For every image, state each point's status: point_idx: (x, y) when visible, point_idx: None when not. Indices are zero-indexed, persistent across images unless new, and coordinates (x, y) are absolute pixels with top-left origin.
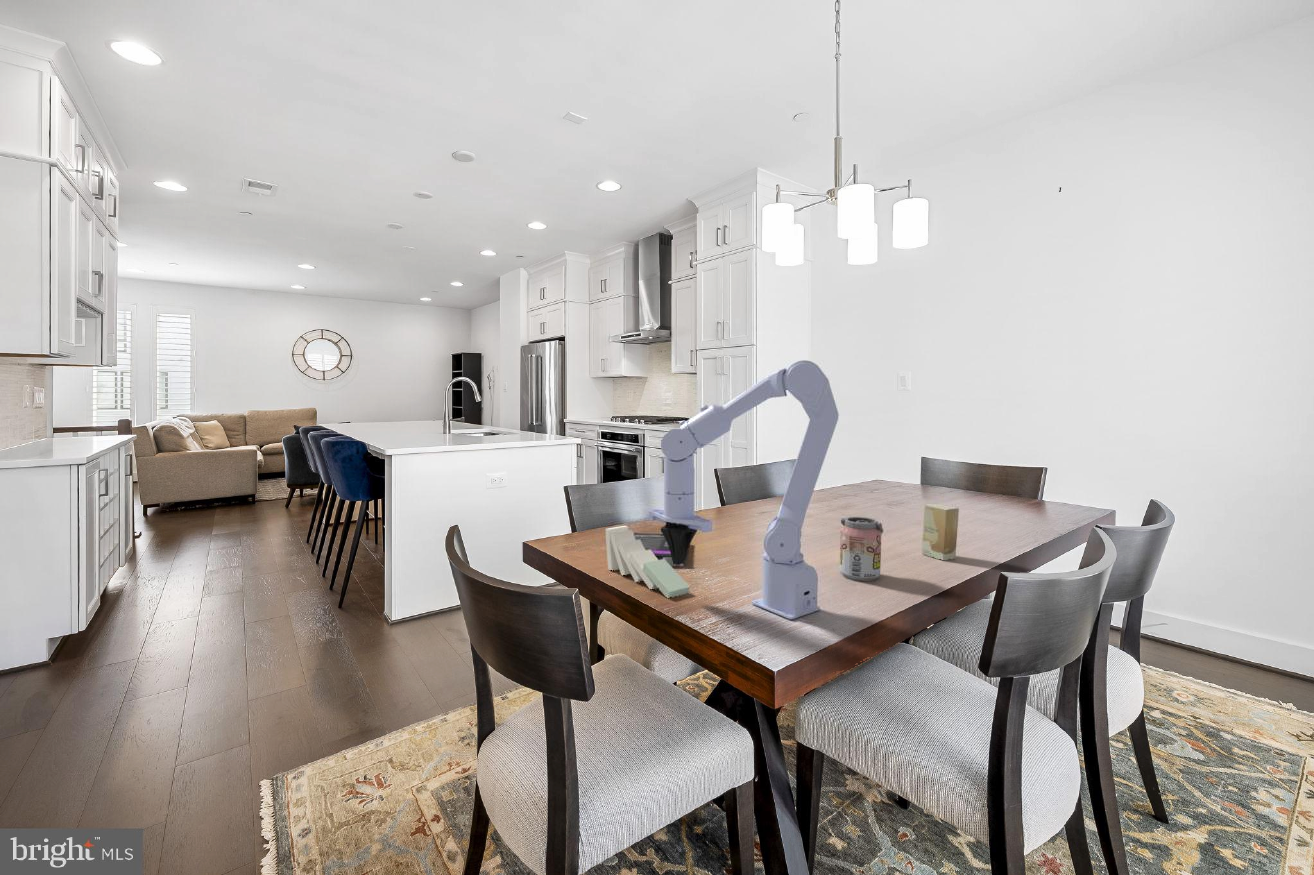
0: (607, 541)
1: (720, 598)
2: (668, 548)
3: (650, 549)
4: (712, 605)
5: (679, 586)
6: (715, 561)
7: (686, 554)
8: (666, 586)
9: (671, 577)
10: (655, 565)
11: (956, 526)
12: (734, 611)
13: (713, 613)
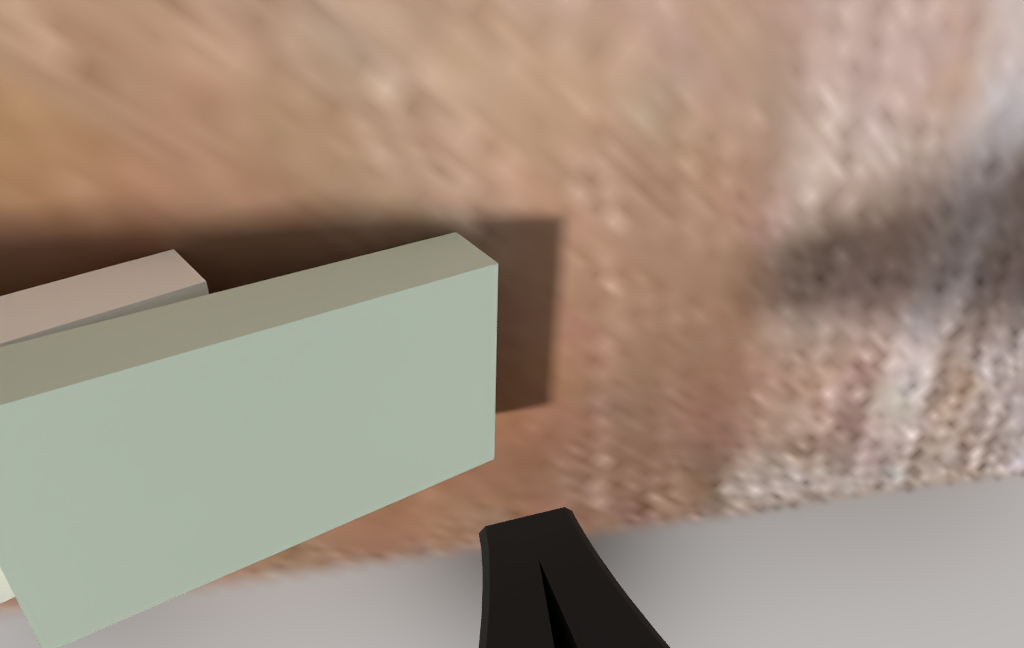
0: None
1: (745, 69)
2: None
3: None
4: (785, 229)
5: (464, 362)
6: None
7: (616, 585)
8: (435, 473)
9: (334, 407)
10: (97, 542)
11: None
12: (973, 168)
13: (869, 308)
